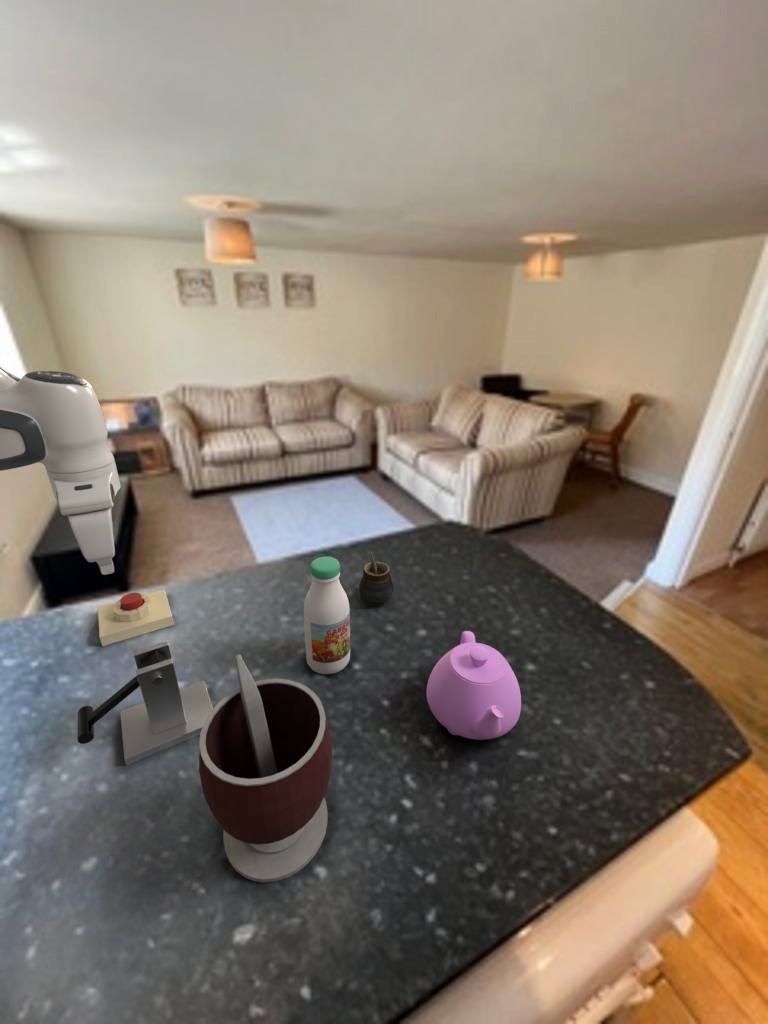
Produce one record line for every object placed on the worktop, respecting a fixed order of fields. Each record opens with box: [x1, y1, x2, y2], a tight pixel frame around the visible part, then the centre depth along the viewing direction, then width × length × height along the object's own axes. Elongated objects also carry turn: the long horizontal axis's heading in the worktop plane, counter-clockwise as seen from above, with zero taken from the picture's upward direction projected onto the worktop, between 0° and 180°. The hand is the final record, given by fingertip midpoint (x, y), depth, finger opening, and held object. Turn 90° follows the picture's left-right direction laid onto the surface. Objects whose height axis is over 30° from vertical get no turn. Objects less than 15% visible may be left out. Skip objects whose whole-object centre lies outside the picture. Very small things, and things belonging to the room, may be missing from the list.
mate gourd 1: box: [198, 654, 333, 883], centre depth 51 cm, size 16×14×20 cm
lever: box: [77, 651, 168, 745], centre depth 61 cm, size 13×5×2 cm, turn 121°
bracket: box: [119, 640, 214, 766], centre depth 64 cm, size 12×9×13 cm
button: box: [119, 591, 143, 611], centre depth 85 cm, size 4×4×2 cm
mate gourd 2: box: [358, 550, 395, 607], centre depth 93 cm, size 7×8×10 cm
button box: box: [97, 589, 175, 647], centre depth 86 cm, size 12×10×4 cm
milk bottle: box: [303, 556, 351, 675], centre depth 75 cm, size 8×8×20 cm
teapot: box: [426, 630, 522, 741], centre depth 66 cm, size 20×14×12 cm
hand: (107, 558), depth 75 cm, fingers open, 8 cm apart
